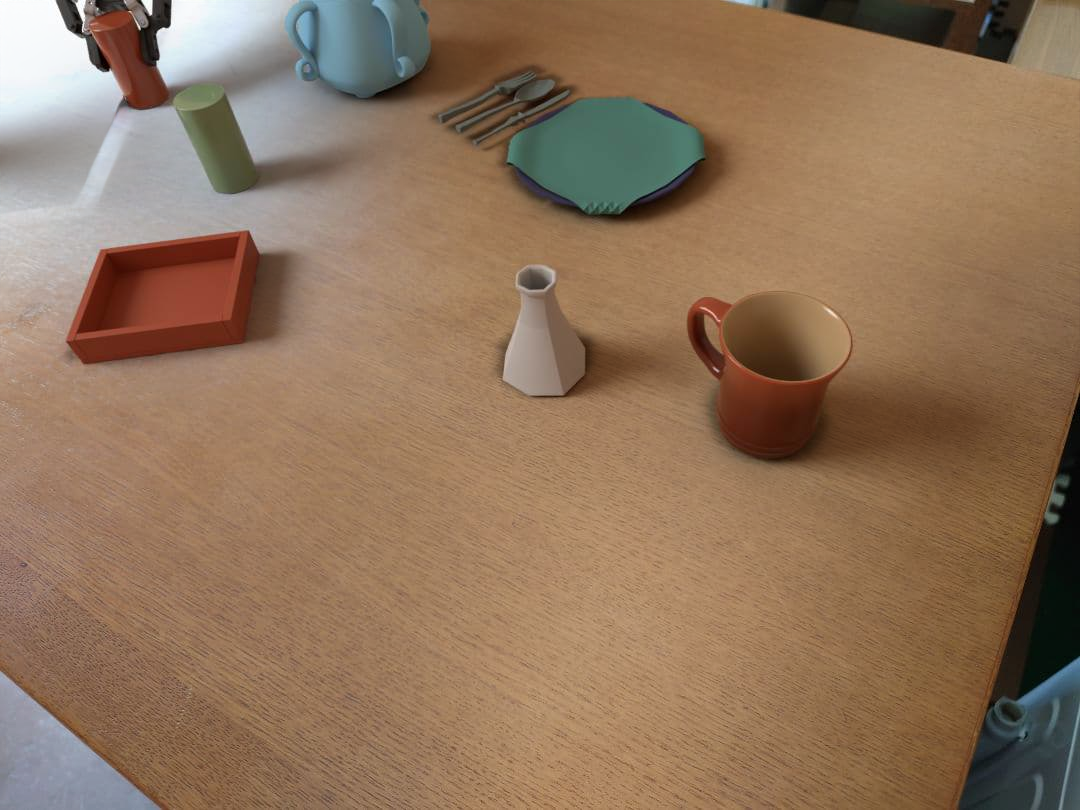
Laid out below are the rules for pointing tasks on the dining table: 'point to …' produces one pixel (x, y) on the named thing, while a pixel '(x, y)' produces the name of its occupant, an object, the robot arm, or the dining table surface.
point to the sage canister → (216, 137)
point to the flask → (542, 339)
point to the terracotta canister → (128, 59)
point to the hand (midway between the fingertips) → (126, 66)
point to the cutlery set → (593, 147)
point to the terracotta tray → (166, 297)
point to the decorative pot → (359, 42)
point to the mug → (770, 366)
